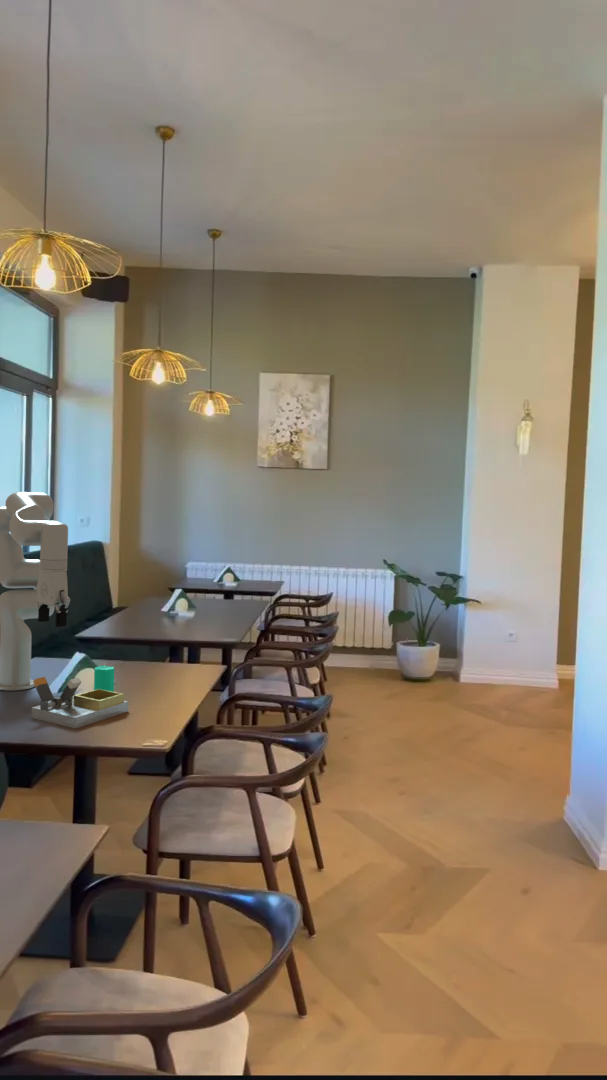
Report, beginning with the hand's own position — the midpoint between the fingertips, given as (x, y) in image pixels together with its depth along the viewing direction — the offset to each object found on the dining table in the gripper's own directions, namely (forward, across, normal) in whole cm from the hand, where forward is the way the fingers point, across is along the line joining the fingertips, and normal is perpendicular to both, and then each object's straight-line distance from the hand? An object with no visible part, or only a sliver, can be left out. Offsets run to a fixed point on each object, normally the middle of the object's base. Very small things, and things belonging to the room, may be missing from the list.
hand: (52, 623), depth 222 cm
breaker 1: (+22, +7, -4) cm, 23 cm away
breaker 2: (+22, +6, +1) cm, 23 cm away
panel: (+26, +9, +5) cm, 28 cm away
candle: (+26, 0, +18) cm, 32 cm away
